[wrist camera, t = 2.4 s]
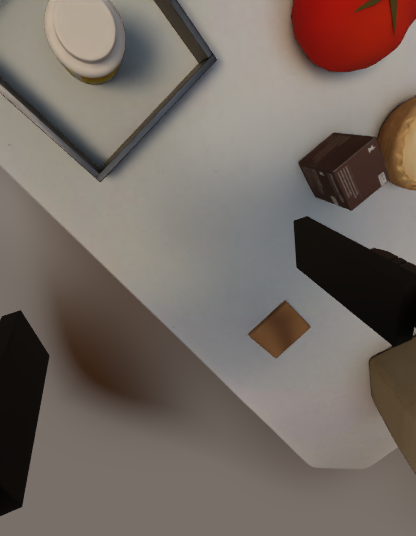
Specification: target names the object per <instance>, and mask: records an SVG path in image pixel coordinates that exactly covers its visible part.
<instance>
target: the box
mask: <svg viewBox="0 0 416 536" xmlns="http://www.w3.org/2000/svg"><path fill="white" fill-rule="evenodd" d="M299 165H300V168H301V170H302V172H303V174H304V176H305V178H306V180H307V182H308V184H309V186H310V188H311V190H312V191H313V193H314V195H315V197H317V198H320V199H322V200H325V201H328V202H330V203H333V204H335V205H338V206H341V207H343V208H346V209H349V210H350V211H352V210H353V209H354V208H356V207H357V206H358V205H359V204H360V203H362V202H363V201H364V200H365V199H366V198H368V197H369V196H370V195H371V194H373V193H374V192H375V191H376V190H378V189H379V188H380V187H381V186H383V185H384V184H385V183H386V182H387V181H388V180H389V179H390V177H389V174H388V171H387V169H386V166H385V160H384V157H383V155H382V153H381V151H380V148H379V145H378V141H377V139H376V137H370V136H361V135H352V134H342V133H333V134H332V135H331V136H329V137H328V138H327V139H326V140H325V141H323V142H322V143H321V144H320V145H319V146H318V147H316V148H315V149H314V150H313V151H312V152H310V153H309V154H308V155H307V156H306V157H304V158H303V159H302V160H301V161H300V162H299Z"/></svg>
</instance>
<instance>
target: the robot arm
mask: <svg viewBox="0 0 416 536" xmlns="http://www.w3.org/2000/svg"><path fill="white" fill-rule="evenodd" d="M294 235H295V251H296V266H297V268H298V269H299V270H300V271H302V272H303V273H304V274H305V275H306V276H308V277H309V278H310V279H311V280H313V281H314V282H315V283H316V284H318V285H319V286H320V287H321V288H322V289H324V290H325V291H326V292H327V293H329V294H330V295H331V296H332V297H334V298H335V299H336V300H337V301H338V302H340V303H341V304H342V305H343V306H345V307H346V308H347V309H348V310H349V311H351V312H352V313H353V314H354V315H356V316H357V317H358V318H359V319H361V320H362V321H363V322H364V323H365V324H367V325H368V326H369V327H370V328H372V329H373V330H374V331H375V332H377V333H378V334H379V335H380V336H381V337H383V338H384V339H385V340H386V341H388V342H389V343H390V344H391V345H393V346H394V347H396V346H398V345H401V344H403V343H405V342H408V341H410V340H412V337H413V331H414V327H415V328H416V265H414V264H412V263H410V262H408V263H407V261H406V260H404V259H402V258H398V256H396V255H394V254H392V253H390V252H388V251H384V250H380V249H376V248H372V249H368V248H366V247H364V246H362V245H360V244H358V243H357V242H355V241H353V240H351V239H349V238H347V237H345V236H343V235H342V234H340V233H338V232H336V231H334V230H332V229H330V228H328V227H326V226H325V225H323V224H321V223H319V222H317V221H315V220H313V219H311V218H309V217H308V216H306V217H303V218H300V219H297V220H294ZM48 361H49V354H48V353H47V351H46V349H45V348H44V346H43V345H42V343H41V342H40V340H39V338H38V337H37V335H36V334H35V332H34V330H33V329H32V327H31V326H30V324H29V323H28V321H27V320H26V318H25V316H24V315H23V313H22V312H21V311H17V312H14V313H11V314H8V315H5V316H2V318H1V320H0V516H2V515H4V514H7V513H8V512H11V511H13V510H16V509H18V508H21V507H22V504H23V499H24V493H25V487H26V482H27V476H28V471H29V465H30V460H31V454H32V449H33V443H34V438H35V432H36V427H37V421H38V415H39V410H40V405H41V399H42V394H43V388H44V383H45V376H46V372H47V366H48Z"/></svg>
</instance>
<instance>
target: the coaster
mask: <svg viewBox="0 0 416 536" xmlns="http://www.w3.org/2000/svg"><path fill="white" fill-rule="evenodd" d="M309 328H311V327H310V326H309V325H308V324H307V323H306V322H305V321H304V320H303V319H302V318H301V317H300V316H299V315H298V313H297V312H296V311H295V310H294V309H293V308H292V307H291V306H290V305H289V304H288V303H287V302H286V301H284V302H283V303H282V304H281V305H280V306H279V307H277V308H276V309H275V310H274V311H273V312H272V313H271V314H270V315H269V316H268V317H267V318H266V319H264V320H263V321H262V322H261V323H260V324H259V325H258V326H257V327H256V328H255V329H254V330H252V331H251V332H250V333H249V334H248V335H249V336H250V337H251V338H252V339H253V340H254V341H256V342H257V343H258V344H259V345H260V346H262V347H263V348H264V349H265V350H266V351H267V352H269V353H270V354H271V355H272V356H273V357H275V358H277V357H278V356H279V355H281V354H282V353H283V352H284V351H285V350H286V349H287V348H288V347H289V346H291V345H292V344H293V343H294V342H295V341H296V340H297V339H298V338H299V337H301V336H302V335H303V334H304V333H305V332H306V331H307V330H308V329H309Z"/></svg>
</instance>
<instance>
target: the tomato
mask: <svg viewBox="0 0 416 536" xmlns="http://www.w3.org/2000/svg"><path fill="white" fill-rule="evenodd" d="M291 18H292V23H293V29H294V34H295V39H296V40H297V42H298V43H299V45H300V46H301V48H302V49H303V51H304V52H305V54H306V56H307V57H308V58H309V59H310V60H311V61H312V62H313V63H314V64H316V65H318V66H320V67H322V68H324V69H326V70H328V71H335V72H350V71H355V70H360V69H364V68H367V67H369V66H371V65H374V64H376V63H377V62H379V61H380V60H381V59H383V58H384V57H386V56H387V55H388V54H390V53H391V52H392V51H393V50H395V49H396V48H397V47H398V46H399V44H400V43H401V41H402V39H403V37H404V35H405V34H406V32H407V30H408V28H409V26H410V25H411V24H412V23H413V21H414V20H415V19H416V0H293V6H292V14H291Z"/></svg>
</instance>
